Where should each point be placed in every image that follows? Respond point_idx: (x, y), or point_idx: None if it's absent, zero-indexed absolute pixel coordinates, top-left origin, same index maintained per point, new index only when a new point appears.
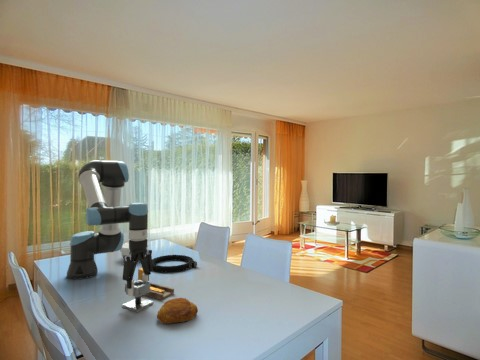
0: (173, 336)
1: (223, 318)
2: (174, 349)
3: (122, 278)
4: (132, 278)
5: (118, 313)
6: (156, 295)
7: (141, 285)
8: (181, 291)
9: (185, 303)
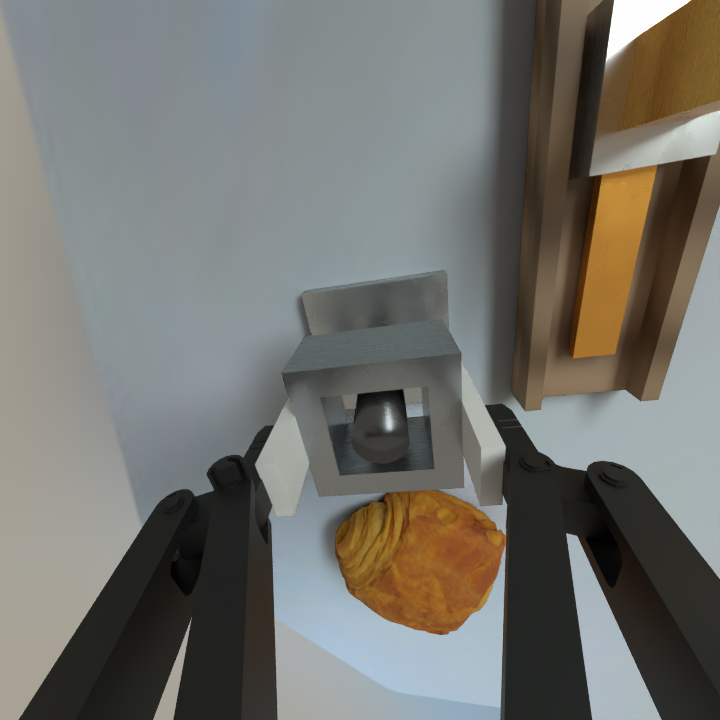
0: (322, 584)
1: (494, 621)
2: (288, 609)
3: (154, 509)
4: (268, 538)
5: (255, 345)
6: (521, 361)
7: (370, 481)
8: (687, 389)
9: (427, 631)
